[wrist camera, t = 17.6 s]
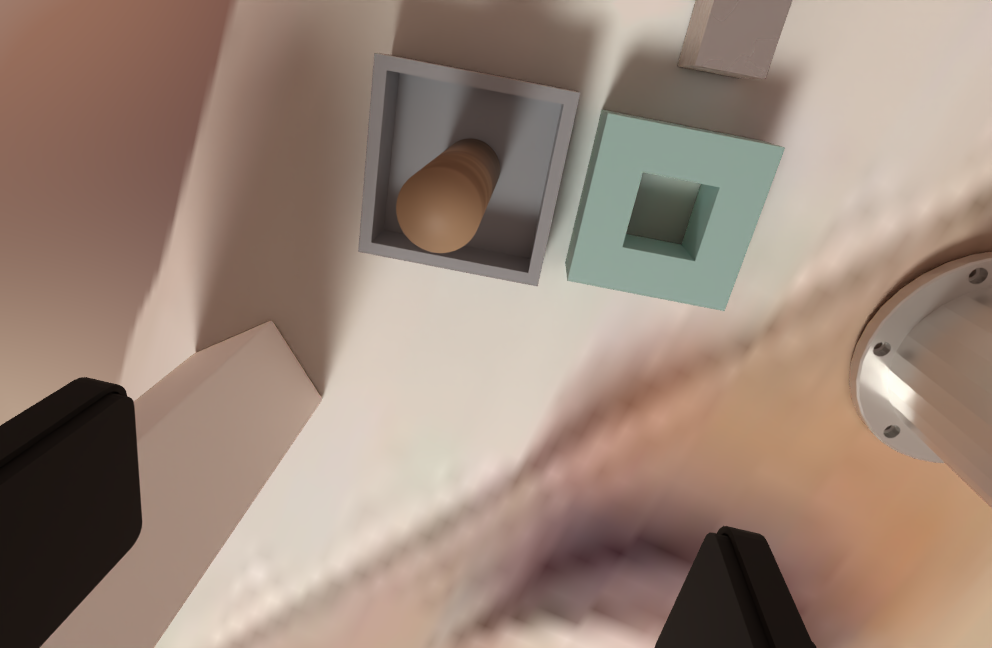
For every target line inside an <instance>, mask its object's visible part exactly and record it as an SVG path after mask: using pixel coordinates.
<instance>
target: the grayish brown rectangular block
mask: <svg viewBox="0 0 992 648" xmlns="http://www.w3.org/2000/svg"><path fill="white" fill-rule="evenodd" d="M791 2H792V0H696V1H695V4H694V8H693V11H692V15H691V18H690V22H689V26H688V29H687V33H686V36H685V40H684V43H683V47H682V51H681V54H680V58H679V61H678V65H677V66H678V67H684V68H689V69H694V70H699V71H704V72H709V73H714V74H720V75H725V76H730V77H735V78H749V79H766V76H767V73H768V70H769V67H770V64H771V61H772V58H773V55H774V52H775V49H776V46H777V43H778V40H779V38H780V35H781V32H782V29H783V26H784V23H785V20H786V17H787V14H788V11H789V8H790V5H791Z"/></svg>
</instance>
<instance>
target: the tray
mask: <svg viewBox="0 0 992 648" xmlns="http://www.w3.org/2000/svg"><path fill="white" fill-rule="evenodd" d="M579 97H580V92H577V91H574V90H568V89H563V88H558V87H553V86H548V85H543V84H538V83H532V82H527V81H522V80H517V79H512V78H507V77H502V76H497V75H491V74H486V73H481V72H476V71H471V70H466V69H461V68H455V67H450V66H445V65H440V64H435V63H430V62H425V61H419V60H414V59H409V58H404V57H399V56H394V55H387V54H380V53H375V54H374V66H373V78H372V91H371V103H370V115H369V127H368V140H367V152H366V164H365V177H364V189H363V201H362V213H361V226H360V238H359V250H358V252H363V253H368V254H373V255H378V256H383V257H388V258H394V259H399V260H404V261H409V262H414V263H419V264H424V265H430V266H435V267H440V268H445V269H450V270H455V271H461V272H466V273H471V274H476V275H481V276H486V277H492V278H497V279H502V280H507V281H512V282H517V283H522V284H528V285H533V286H538V282H539V278H540V273H541V269H542V264H543V260H544V255H545V250H546V246H547V241H548V237H549V232H550V228H551V223H552V219H553V214H554V210H555V205H556V201H557V196H558V192H559V187H560V183H561V178H562V174H563V169H564V164H565V160H566V155H567V151H568V146H569V142H570V137H571V133H572V128H573V124H574V119H575V115H576V110H577V106H578V101H579ZM470 138H472V139H478V140H481V141H483V142H485V143H486V144H488V145H489V146H490V147H491V148H492V149H493V150H494V151H495V153H496V155H497V157H498V160H499V163H500V175H499V179H498V182H497V184H496V187H495V189H494V191H493V194H492V196H491V198H490V201H489V203H488V206H487V208H486V210H485V213H484V215H483V217H482V220H481V222H480V224H479V227H478V229H477V231H476V233H475V235H474V236H473V238H472V239H471V240H470V241H469V242H468V243H467V244H466V245H464V246H463V247H461V248H460V249H458V250H455V251H452V252H447V253H434V252H430V251H426V250H424V249H422V248H420V247H418V246H416V245H415V244H414V243H412V242H411V241H410V240H409V239H408V238H407V236H406V235H405V234H404V232H403V231H402V229H401V227H400V225H399V222H398V219H397V213H396V203H397V198H398V194H399V192H400V190H401V188H402V186H403V185H404V183H405V182H406V181H407V180H408V179H409V178H410V177H411V176H413V175H414V174H415V173H416V172H418V171H419V170H420V169H422V168H423V167H424V166H426V165H427V164H428V163H429V162H431V161H432V160H433V159H435V158H436V157H437V156H438V155H440V154H441V153H442V152H444V151H445V150H446V149H448V148H449V147H450V146H451V145H453V144H454V143H456V142H458V141H460V140H463V139H470Z"/></svg>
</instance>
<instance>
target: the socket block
mask: <svg viewBox="0 0 992 648" xmlns="http://www.w3.org/2000/svg"><path fill="white" fill-rule="evenodd" d="M784 149H785V148H784V147H781V146H778V145H774V144H771V143H768V142H765V141H761V140H756V139H751V138H746V137H741V136H735V135H730V134H725V133H720V132H715V131H710V130H705V129H699V128H694V127H689V126H684V125H679V124H674V123H669V122H663V121H658V120H653V119H648V118H643V117H638V116H633V115H627V114H622V113H617V112H612V111H607V110H602V111H601V115H600V119H599V123H598V128H597V132H596V136H595V140H594V144H593V149H592V153H591V157H590V161H589V165H588V170H587V174H586V178H585V182H584V186H583V191H582V195H581V199H580V203H579V207H578V212H577V216H576V220H575V224H574V228H573V233H572V237H571V241H570V245H569V249H568V254H567V258H566V262H565V264H566V272H567V281H572V282H577V283H582V284H587V285H592V286H598V287H603V288H608V289H613V290H618V291H623V292H628V293H634V294H639V295H644V296H649V297H654V298H659V299H665V300H670V301H675V302H680V303H685V304H690V305H696V306H701V307H706V308H711V309H716V310H721V311H725V308H726V305H727V303H728V300H729V297H730V295H731V292H732V289H733V287H734V284H735V281H736V278H737V276H738V273H739V270H740V268H741V265H742V262H743V260H744V257H745V254H746V252H747V249H748V246H749V243H750V241H751V238H752V235H753V233H754V230H755V227H756V225H757V222H758V219H759V217H760V214H761V211H762V208H763V206H764V203H765V200H766V198H767V195H768V192H769V190H770V187H771V184H772V181H773V179H774V176H775V173H776V171H777V168H778V165H779V163H780V160H781V157H782V155H783V152H784ZM643 173H648V174H653V175H658V176H663V177H668V178H674V179H679V180H684V181H689V182H694V183H699V184H701V185H700V188H699V191H698V195H697V198H696V201H695V204H694V207H693V210H692V213H691V216H690V220H689V223H688V226H687V229H686V232H685V235H684V238H683V241H682V244H676V243H671V242H666V241H661V240H656V239H650V238H645V237H640V236H635V235H630V234H626V232H627V228H628V225H629V221H630V218H631V214H632V210H633V207H634V203H635V199H636V196H637V192H638V189H639V185H640V181H641V178H642V174H643Z"/></svg>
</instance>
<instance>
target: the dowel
mask: <svg viewBox="0 0 992 648" xmlns="http://www.w3.org/2000/svg"><path fill="white" fill-rule="evenodd" d="M499 175H500V163H499V160H498V157H497V155H496V153H495V151H494V150H493V149H492V148H491V147H490V146H489V145H488V144H486V143H485V142H483V141H481V140H478V139H472V138H470V139H463V140H460V141H458V142H456V143H454V144H453V145H451V146H450V147H449V148H448V149H446V150H445V151H444V152H442V153H441V154H440V155H438V156H437V157H436V158H435V159H433V160H432V161H431V162H429V163H428V164H427V165H426V166H424V167H423V168H422V169H420V170H419V171H418V172H416V173H415V174H414V175H413V176H411V177H410V178H409V179H408V180H407V181H406V182H405V183H404V185H403V186H402V188H401V190H400V192H399V194H398V198H397V203H396V213H397V219H398V222H399V225H400V227H401V229H402V231H403V232H404V234H405V235H406V236H407V238H408V239H409V240H410V241H411V242H412V243H414V244H415V245H416V246H418V247H420V248H422V249H424V250H426V251H430V252H434V253H447V252H452V251H455V250H458V249H460V248H461V247H463V246H464V245H466V244H467V243H468V242H469V241H470V240H471V239H472V238H473V236H474V235H475V233H476V231H477V229H478V227H479V224H480V222H481V220H482V217H483V215H484V213H485V210H486V208H487V206H488V203H489V201H490V198H491V196H492V194H493V191H494V189H495V187H496V184H497V182H498V179H499Z"/></svg>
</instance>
